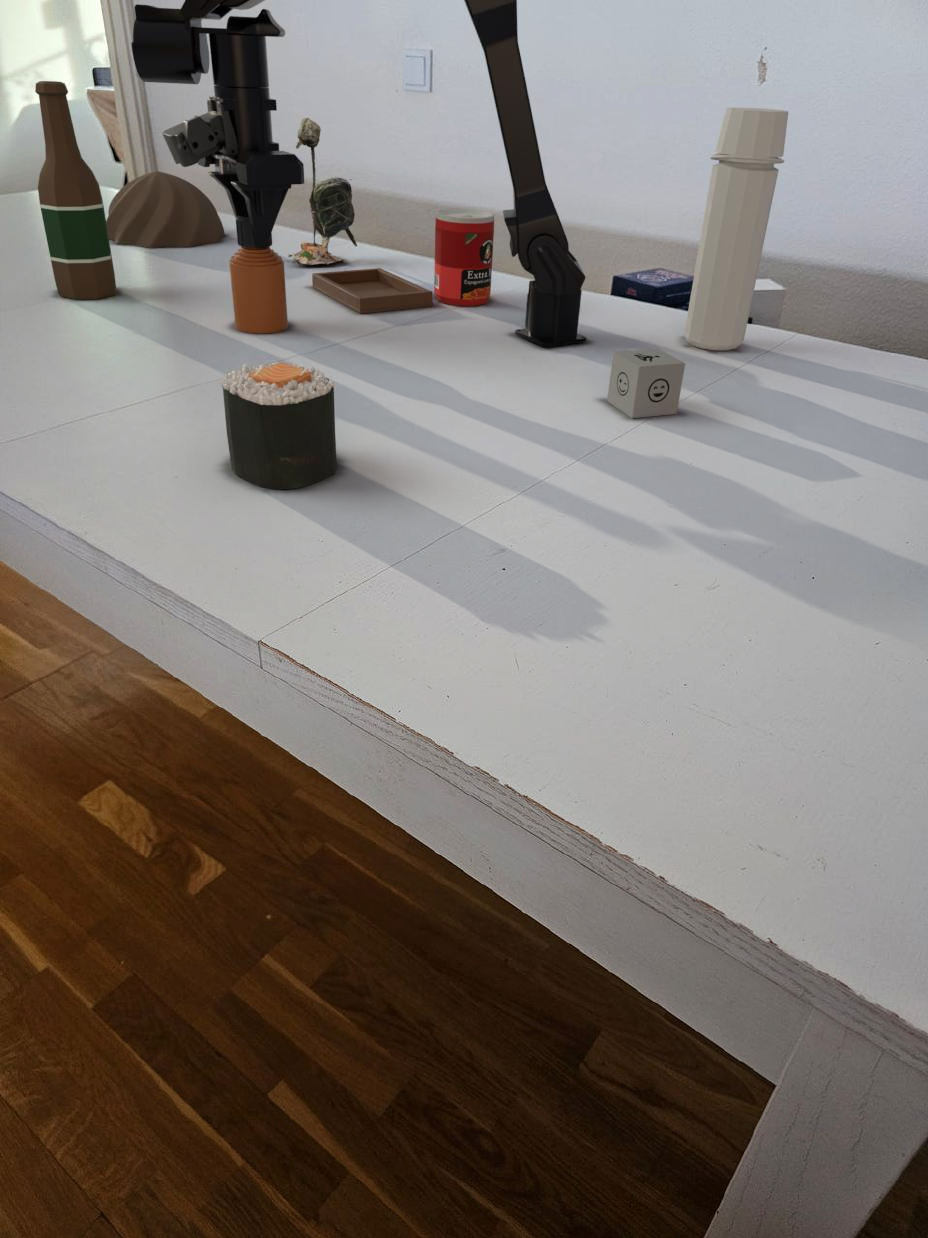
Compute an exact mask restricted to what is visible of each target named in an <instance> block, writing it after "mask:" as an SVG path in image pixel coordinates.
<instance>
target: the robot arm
mask: <svg viewBox="0 0 928 1238" xmlns="http://www.w3.org/2000/svg"><path fill="white" fill-rule="evenodd" d="M265 1H266V0H184V2H183V3H182V6H181V7H180V8H170V7H169V8H168V7H157V6H154V5H149V4H135V5H134V7H133V8H134V14H135V19H134V22H133V27H132V41H131V43H130V44H131V53H132V58H133V62H134V66H135V69H136V73H137V74H138V77H139V79H140V80H141V81H142V82H143V83H159V84H160V83H161V84H179V85H183V84H184V85H199V84H200V83H201V79H202V78H201V77H202V74H205V75H207V74H208V73H209V71H210V61H211V72H212V81H213V92H214V95H208V99H207V100H206V105H207V112H205V113H203V114H201V115H193V118H190V119H183V121H182V122H181V123H178V124H176V125H174V126H171V127H169V128H167V129H165V130H163V131H162V132H161V134H162V137H163V138H164V140H165V143H166V146H167V148H168V149H169V152H170V154H171V156H172V159H173V160H174V163H175V164H176V165H179V164H180V165H181V167H183V168H188V167H191V166H195V165H196V164H197V165H198V166H200V167H202V168H210V167H211V166H210V165H214V171H208V175H209V176H210V177H211V178H213V179H214V180H215V181H216V182H217V183H218V184H219V185H221V186H222V187H223V189H224V190H225V192H226V196H227V198H228V200H229V203H230V206H231V209H232V213H233V215H234V219H236V214H237V213H242V212H248V215H249V219H250V224H251V229H252V233H253V237H254V241H255V245H256V247H257V248H266V246H267V244H268V241H269V238H270V235H271V233H272V232H273V230H274V227H275V224H276V221H277V218H278V216H279V214H280V211H281V208H282V206H283V204H284V201H285V198H286V197H287V194H288V191H289V189H292V185H303V184H305V166H304V162H303V161H302V160H300V158H299V157H298V156H297V155H296V154H295V153H292V152H288V151H285V150H280V143H279V142H275V141H273V140H274V139H273V124H272V112H273V111H275V112H276V111H278V109H277V108H278V106H277V99H276V98H275V99H274V98H271V96H270V79H269V66H268V65H269V64H268V50H267V37H271V38H272V37H273V38H284V37H285V35H286V31H285V29H284V28H283V27H282V26H281V25H280V24H279V23H278V22H277V21H276V20H275V18H274V17H273V15H272V13H271V11H270V10H269V9H267V8H262V9H260V11H259V14H258V15H257V16H237V15H230V16H229V17H228V18H227V22H226V27H225V28H223V27H222V28H221V27H203V26H202V21H203V20H212V21H213V20H214V21H216V20H217V21H220V20H222V19H223V18H224V17H226V16H227V15H228V14H229V13H231V12H232V11H233V10H239V11H243V10H250V9H253V8H254V7H256V6H258V5H260V4H261V3H263V2H265ZM463 2H464V4H465V7H466V9H467V12H468V15H469V17H470V20H471V22H472V25H473V28H474V30H475V33H476V35H477V39H478V40H479V44H480V45H481V48H482V51H483V55H484V59H485V64H486V68H487V69H486V70H487V74H488V77H489V82H490V88H491V91H492V97H493V101H494V105H495V110H496V114H497V119H498V125H499V129H500V133H501V139H502V143H503V147H504V152H505V157H506V162H507V165H508V171H509V175H510V180H511V184H512V185H511V186H512V197H513V208H512V209H504V210H502V216H503V221H504V223H505V226H506V228H507V231H508V233H509V236H510V238H509V249H510V254H511V257H513V258H515V257H516V256H517V257H518V260H519V263H520V265H521V267H522V268H523V270H524V271H526V272H527V273H529V275H532V276H533V279H534V280H529V282H528V292H527V295H526V307H525V320H524V321H525V322H524V326H525V328H518V329H514V334H515V335H516V336H519V337H520V338H523V339H525V340H528V341H529V342H532V343H534V344H536V345H538V346H540V347H542V348H543V347H544V348H548V347H557V346H564V345H571V344H578V343H585V342H587V341H588V337H587V336H585V335H583V334H581V333H578V330H579V320H580V311H581V302H582V301H581V300H582V294H583V293H582V291H583V290H582V287H583V285H584V283H585V280H586V275H585V273H584V271H583V269H582V267H581V265H580V263H579V261H578V260H577V258H576V257H575V256H574V255H573V254H572V252H571V251H570V247H569V246H570V245H569V240H568V237H567V235H566V232H565V230H564V227H563V224H562V222H561V219H560V216H559V214H558V211H557V208H556V206H555V203H554V201H553V199H552V196H551V193H550V191H549V188H548V184H547V183H546V178H545V172H544V168H543V162H542V157H541V153H540V148H539V143H538V137H537V131H536V127H535V122H534V116H533V111H532V106H531V100H530V96H529V92H528V85H527V82H526V76H525V71H524V66H523V60H522V56H521V51H520V45H519V36H518V35H519V33H518V0H463ZM207 34H208V37H207ZM208 39H209V41H208ZM208 43H209V44H208ZM209 50H210V51H209Z"/></svg>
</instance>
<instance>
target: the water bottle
mask: <svg viewBox="0 0 928 1238" xmlns="http://www.w3.org/2000/svg"><path fill="white" fill-rule="evenodd" d="M788 118H789V111H788V110H783V109H773V108H761V107H760V108H758V107H732V106H731V107H726V108H725V112H724V116H723V120H722V124H721V128H720V132H719V135H718V138H717V139H718V140H717V143H716V147H715V151H714V152H715V154H712V155H711V156H710V157H709V158H710V160H713V161H718V162H717V163H715V164H712V166H711V167H712V168H711V172H710V173H711V174H710V179H709V185H708V191H707V197H706V203H705V209H704V213H703V214H704V215H703V220H702V227H701V231H700V238H699V244H698V249H697V257H696V261H695V266H694V267H695V268H694V274H693V280H692V286H691V292H690V298H689V303H688V310H687V316H686V322H685V327H684V332H683V333H684V334H683V336H684V339H685V340H686V342H688V344H689V345H691V346H693V347H695V348H699V349H703V350H708V351H719V352H720V351H721V352H722V351H723V352H724V351H725V352H726V351H731V350H734V349H738V348H739V347H740V346H741V345H742V344H743V342H744V341H745V336H746V331H747V327H748V321H749V317H750V312H751V307H752V303H753V302H752V301H753V297H754V292H755V288H756V282H757V277H758V272H759V268H760V263H761V259H762V253H763V248H764V243H765V239H766V235H767V229H768V224H769V220H770V215H771V214H770V213H771V209H772V204H773V199H774V194H775V191H776V189H775V188H776V184H777V179H778V175H779V168H777V167H775V164H784V163H785V160H784V159H782V157H784V152H785V144H786V136H787V127H788V120H789V119H788Z"/></svg>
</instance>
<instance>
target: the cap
mask: <svg viewBox="0 0 928 1238" xmlns="http://www.w3.org/2000/svg"><path fill="white" fill-rule="evenodd" d="M235 228H236V237H237V238H236V239H237V245H238V247H248V248H257V247H256V245H255V241H254V237H253V233H252V229H251V224H250V219H249V215H248V212H242V213H237V214H236V218H235ZM272 245H273V234H272V233H271V235H270V238H269V241H268V244H267V246H266V247H272Z"/></svg>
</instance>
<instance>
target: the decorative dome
mask: <svg viewBox="0 0 928 1238" xmlns="http://www.w3.org/2000/svg"><path fill="white" fill-rule="evenodd" d="M107 211H108V212H107V213H108V216H107V217H106V224H107V230H108V236H109V241H114V243H115V245H123V246H124V245H125V246H137V247H143V248H148V249H156V248H170V247H172V248H173V247H174V248H192V247H195V246H199V245H203V244H214V243H219V242H220V239H221V238H223V237H226V232H225V228H224V225H223V223H222V220H221V218H220V216H219V213H218V211H217V209H216V207H215V205H214V203H213V202H212V201H211V200H210V198H209V197H208V196H207V195H206V194H205V193H204V192H203V191H202V190H201V189H200V188H198V187H197V186H196V185H194V184H193V183H191V182H189V181H187V180H185V179H184V178H182V177H179V176H176V175H173V174H170V173H167V172H163V171H158V170H157V171H151V172H148V173H145V174H141V176H140V175H139V176H138V177H136V178H133V179H131V181H128V182H127V183H126V184H125V185H124V186H122V187H121V188H120V189H119V191H117V193H116V194H115V195H114V196H113V198H112V199H111V201H110V204H109V206H108V210H107Z"/></svg>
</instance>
